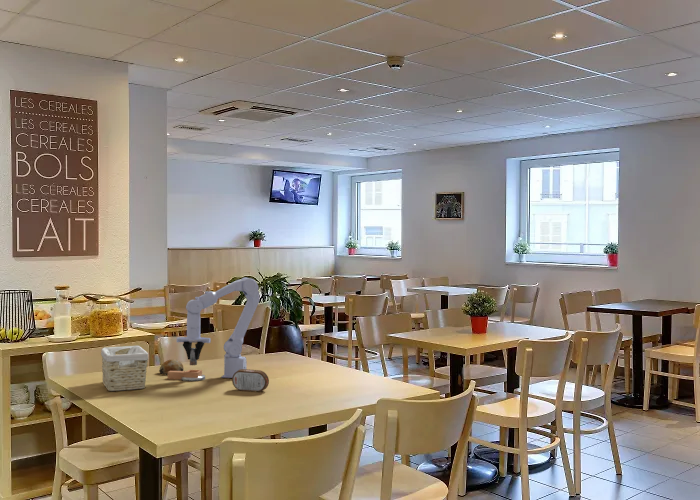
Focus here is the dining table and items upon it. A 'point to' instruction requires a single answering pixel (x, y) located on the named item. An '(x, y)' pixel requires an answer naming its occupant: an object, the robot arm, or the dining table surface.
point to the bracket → (184, 374)
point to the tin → (250, 380)
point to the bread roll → (171, 366)
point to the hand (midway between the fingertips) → (193, 359)
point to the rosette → (193, 378)
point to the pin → (193, 356)
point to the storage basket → (124, 367)
